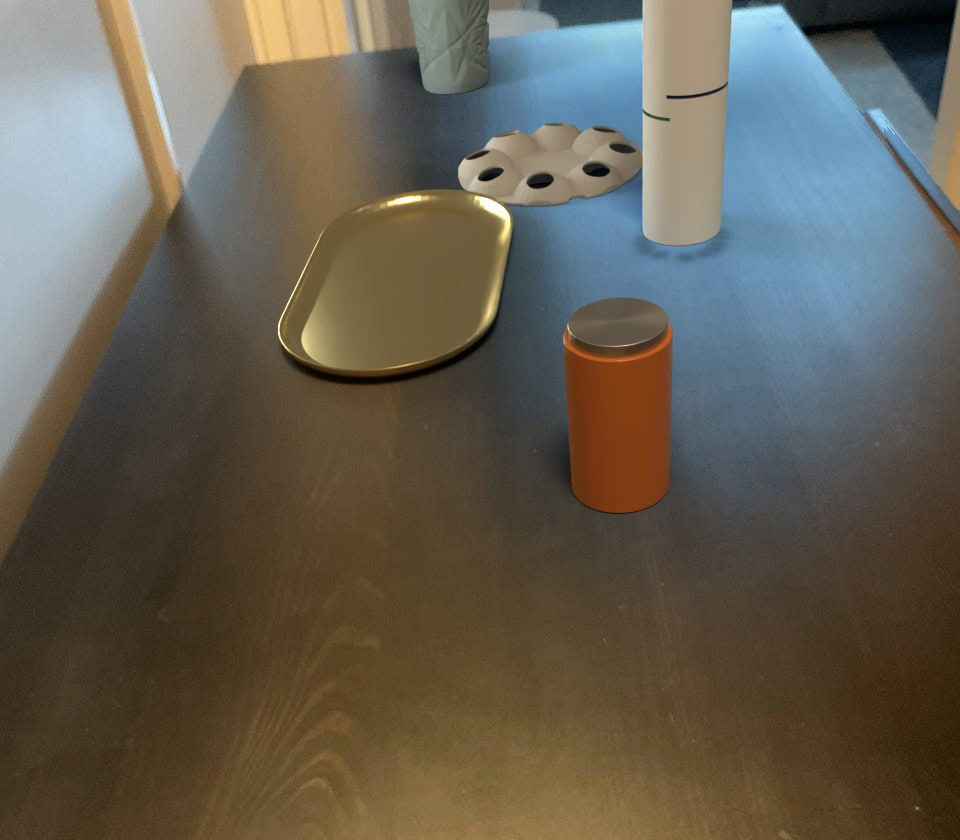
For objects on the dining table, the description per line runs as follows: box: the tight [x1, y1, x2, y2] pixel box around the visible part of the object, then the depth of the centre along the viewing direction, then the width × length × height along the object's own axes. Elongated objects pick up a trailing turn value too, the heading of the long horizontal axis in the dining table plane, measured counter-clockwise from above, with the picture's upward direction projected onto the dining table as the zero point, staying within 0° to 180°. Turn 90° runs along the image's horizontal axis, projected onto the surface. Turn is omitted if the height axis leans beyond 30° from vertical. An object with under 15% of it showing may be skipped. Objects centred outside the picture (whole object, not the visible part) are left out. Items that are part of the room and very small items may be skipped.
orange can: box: [563, 297, 674, 514], centre depth 69 cm, size 7×7×12 cm
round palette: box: [457, 122, 643, 207], centre depth 114 cm, size 20×20×2 cm
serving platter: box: [277, 188, 515, 379], centre depth 97 cm, size 19×35×2 cm, turn 174°
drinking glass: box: [407, 0, 490, 95], centre depth 133 cm, size 10×10×12 cm
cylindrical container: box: [642, 0, 733, 247], centre depth 92 cm, size 7×7×25 cm
